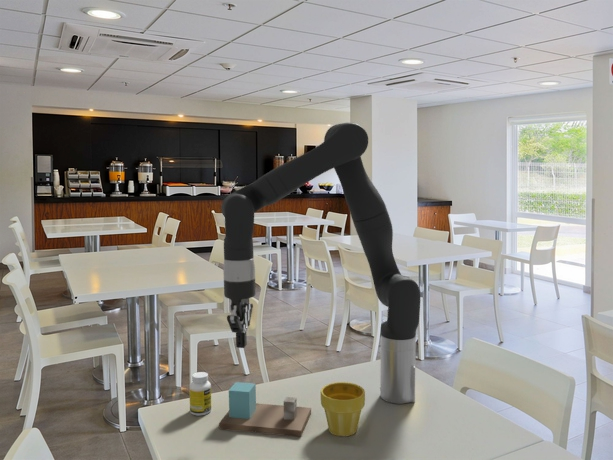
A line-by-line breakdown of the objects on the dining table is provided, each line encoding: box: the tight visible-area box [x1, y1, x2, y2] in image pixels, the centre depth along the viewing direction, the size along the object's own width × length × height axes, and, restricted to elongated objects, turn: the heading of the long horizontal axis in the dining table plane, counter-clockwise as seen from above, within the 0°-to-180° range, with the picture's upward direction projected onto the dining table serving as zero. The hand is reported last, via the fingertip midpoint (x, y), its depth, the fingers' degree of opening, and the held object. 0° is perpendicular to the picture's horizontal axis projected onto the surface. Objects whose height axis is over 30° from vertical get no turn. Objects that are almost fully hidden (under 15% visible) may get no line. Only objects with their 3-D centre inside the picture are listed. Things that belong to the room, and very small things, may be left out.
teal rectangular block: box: [228, 381, 257, 419], centre depth 133 cm, size 5×5×7 cm
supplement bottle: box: [188, 371, 212, 417], centre depth 137 cm, size 5×5×10 cm
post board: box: [218, 396, 312, 438], centre depth 132 cm, size 20×12×6 cm, turn 78°
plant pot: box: [320, 381, 366, 437], centre depth 127 cm, size 10×10×10 cm
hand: (241, 346), depth 132 cm, fingers closed
